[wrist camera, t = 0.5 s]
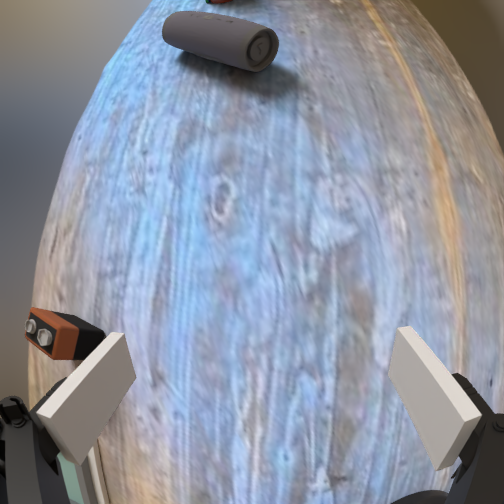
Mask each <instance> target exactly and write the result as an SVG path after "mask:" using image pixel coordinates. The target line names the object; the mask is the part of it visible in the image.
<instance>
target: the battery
mask: <svg viewBox="0 0 504 504" xmlns="http://www.w3.org/2000/svg"><path fill="white" fill-rule="evenodd" d="M25 329H26V332H25V337H26V339H27V340H29V341H30V342H31V343H32V344H33V345H35V346H36V347H37V348H38V349H40V350H41V351H42V352H44V353H45V354H46V355H48V356H49V357H50V358H52V359H53V360H85V359H86V358H87V357H88V356H89V355H90V354H91V353H92V352H93V351H94V350H95V349H96V348H97V347H98V346H99V345H100V344H101V343H102V342H103V338H104V331H103V330H101V329H99V328H97V327H95V326H93V325H91V324H89V323H88V322H86V321H84V320H82V319H80V318H78V317H77V316H74V315H69V314H64V313H59V312H54V311H49V310H44V309H39V308H34V307H32V308H31V309H30V313H29V317H28V320H27V321H26V323H25Z"/></svg>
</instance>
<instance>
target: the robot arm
mask: <svg viewBox="0 0 504 504" xmlns="http://www.w3.org/2000/svg"><path fill="white" fill-rule="evenodd" d="M388 375H389V377H390V379H391V381H392V383H393V385H394V387H395V389H396V390H397V392H398V394H399V396H400V398H401V400H402V402H403V404H404V406H405V408H406V410H407V412H408V414H409V416H410V418H411V420H412V422H413V424H414V426H415V428H416V430H417V432H418V434H419V436H420V438H421V440H422V443H423V445H424V447H425V449H426V451H427V453H428V455H429V458H430V460H431V462H432V464H433V466H434V469H435V471H438V470H441V469H444V468H446V467H449V466H452V465H453V464H454V462H455V461H456V459H457V457H458V456H459V457H460V459H461V461H462V463H461V464H460V465H459V467H458V468H457V470H456V471H455V473H454V474H453V475H452V477H451V478H454V477H455V479H454V481H453V484H452V487H451V489H450V491H449V494H448V493H446V492H443V491H439V490H428V491H422V492H418V493H414V494H411V495H408V496H406V497H403V498H401V499H399V500H397V501H395V502H393V503H391V504H504V414H498V413H497V414H495V413H494V412H493V411H492V410H491V408H490V407H489V406H488V404H487V403H486V402H485V401H484V399H483V398H482V397H481V396H480V394H479V393H477V391H476V389H475V388H474V387H473V386H472V384H471V383H470V382H469V381H468V380H467V378H465V377H463V376H462V375H460V374H458V373H455V374H450V372H449V371H448V370H447V369H446V367H445V366H444V365H443V364H442V363H441V361H440V360H439V359H438V358H437V356H436V355H435V354H434V353H433V352H432V350H431V349H430V348H429V347H428V346H427V344H426V343H425V342H424V341H423V340H422V338H421V337H420V336H419V335H418V334H417V333H416V331H415V330H414V329H413V328H412V327H411V326H407V327H400V328H397V331H396V337H395V342H394V348H393V353H392V358H391V363H390V367H389V372H388ZM135 379H136V374H135V371H134V367H133V364H132V360H131V357H130V353H129V350H128V346H127V342H126V338H125V334H124V333H115V332H111V333H110V334H109V335H108V336H107V337H106V338H105V339H104V341H103V342H102V343H101V344H100V345H99V346H98V347H97V348H96V349H95V350H94V351H93V352H92V353H91V354H90V355H89V356H88V357H87V358H86V359H85V360H84V361H83V362H82V363H81V364H80V365H79V366H78V367H77V369H76V370H75V371H74V372H73V373H72V374H71V375H70V376H69V377H68V378H67V377H65V378H64V379H62V380H60V381H59V382H57V383H56V384H55V385H54V386H53V387H52V388H51V391H50V390H49V391H48V392H47V393H46V396H44V397H43V398H42V399H41V400H40V401H39V402H38V403H37V404H36V405H35V406H34V407H33V409H32V410H31V411H30V412H28V410H27V408H26V406H25V404H24V403H23V401H22V399H21V398H19V397H17V396H9V397H6V398H4V399H2V400H1V401H0V415H1V417H2V419H1V418H0V504H71V503H70V500H69V496H68V493H67V489H66V485H65V482H64V477H63V473H62V469H61V464H60V461H59V459H58V457H57V455H58V454H59V452H61V453H62V455H63V456H64V458H65V459H66V460H67V461H69V462H72V463H74V464H77V465H79V466H81V464H82V463H83V461H84V460H85V458H86V456H87V455H88V453H89V451H90V450H91V448H92V447H93V445H94V443H95V442H96V440H97V438H98V437H99V435H100V434H101V432H102V430H103V429H104V427H105V426H106V424H107V423H108V421H109V419H110V418H111V416H112V415H113V413H114V412H115V410H116V408H117V407H118V405H119V404H120V402H121V401H122V399H123V397H124V396H125V394H126V393H127V391H128V390H129V388H130V387H131V385H132V384H133V382H134V380H135Z"/></svg>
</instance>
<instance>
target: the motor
mask: <svg viewBox="0 0 504 504" xmlns="http://www.w3.org/2000/svg"><path fill="white" fill-rule="evenodd" d="M210 1H211V2H212V3H225V2H229V1H232V0H206V3H209V2H210Z"/></svg>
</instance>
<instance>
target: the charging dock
mask: <svg viewBox="0 0 504 504" xmlns="http://www.w3.org/2000/svg"><path fill="white" fill-rule="evenodd" d="M57 457H58V459H59V461H60V464H61V469H62V473H63V477H64V482H65V485H66V489H67V493H68V496H69V500H70V503H71V504H110V503H109V499H108V495H107V490H106V486H105V481H104V477H103V471H102V466H101V461H100V455H99V448H98V441H97V440H96V442H95V443H94V445H93V447H92V448H91V450H90V451H89V453H88V455H87V456H86V458H85V460H84V461H83V463H82V464H81V466H79V465H77V464H74V463H72V462H69V461H67V460H66V459H65V458H64V456H63V455H62V453H61V452H59V454H58V455H57Z"/></svg>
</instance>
